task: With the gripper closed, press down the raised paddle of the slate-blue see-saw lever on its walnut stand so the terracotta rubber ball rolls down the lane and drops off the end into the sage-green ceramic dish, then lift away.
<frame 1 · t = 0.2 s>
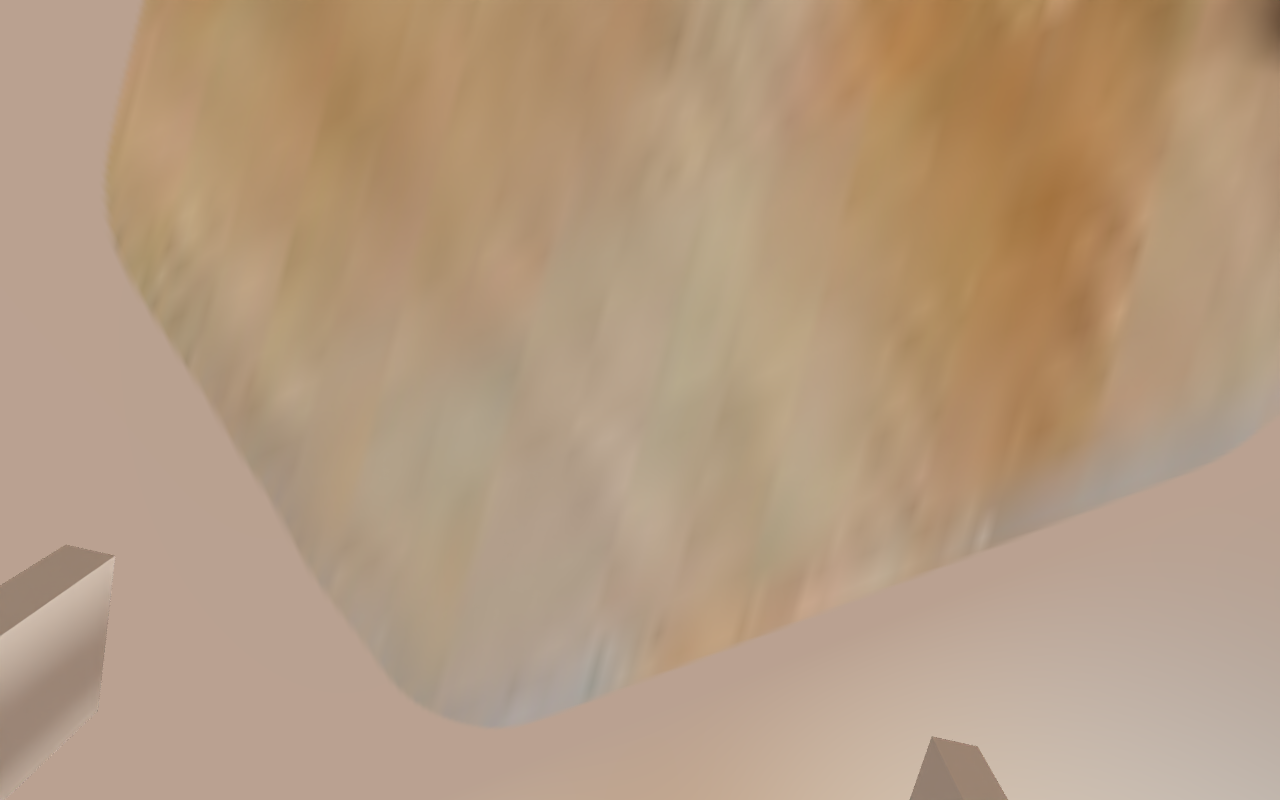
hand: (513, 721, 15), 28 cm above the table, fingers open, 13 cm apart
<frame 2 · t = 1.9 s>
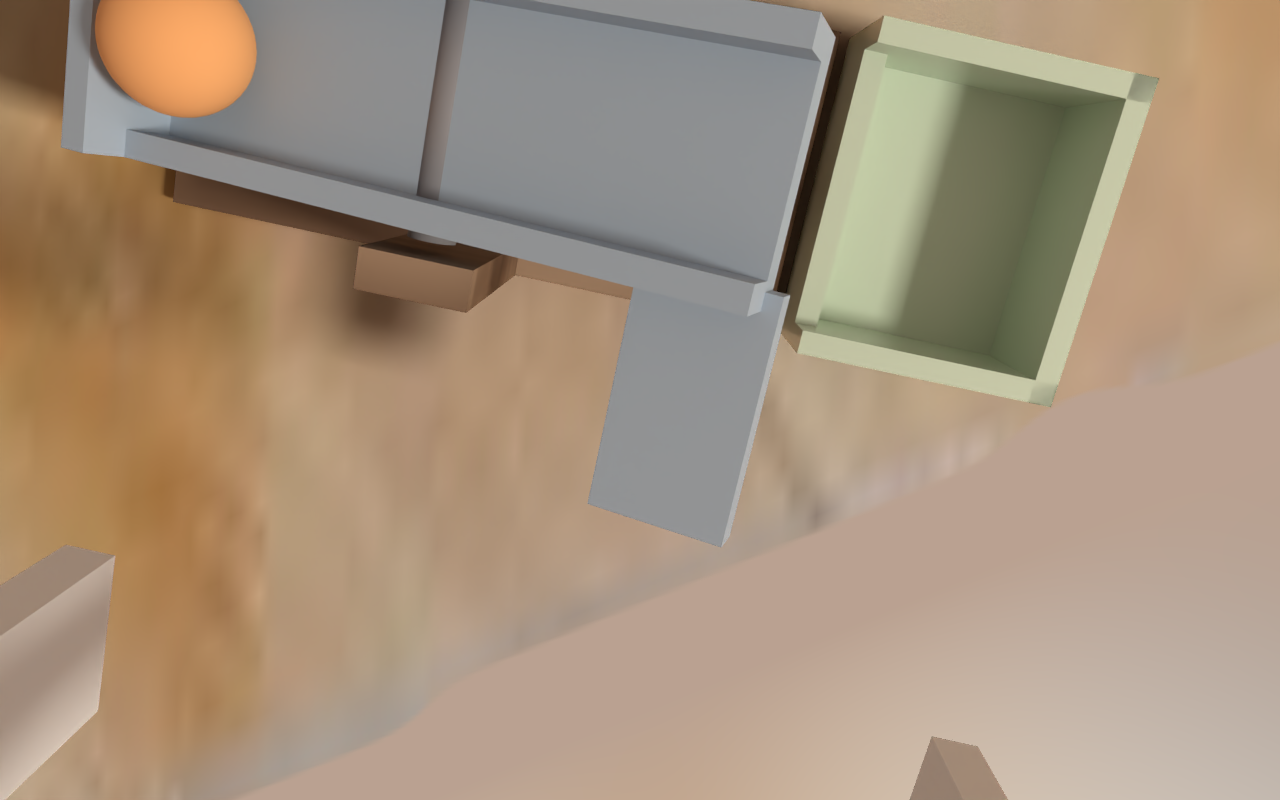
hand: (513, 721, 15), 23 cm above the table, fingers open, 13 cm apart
stand: (502, 120, 35), on the table
ball: (178, 42, 26), point 9 cm above the table, tilted 11°, touching lever
dish: (925, 213, 36), on the table
lever: (416, 211, 26), point 10 cm above the table, hinge at 18.1°, touching ball
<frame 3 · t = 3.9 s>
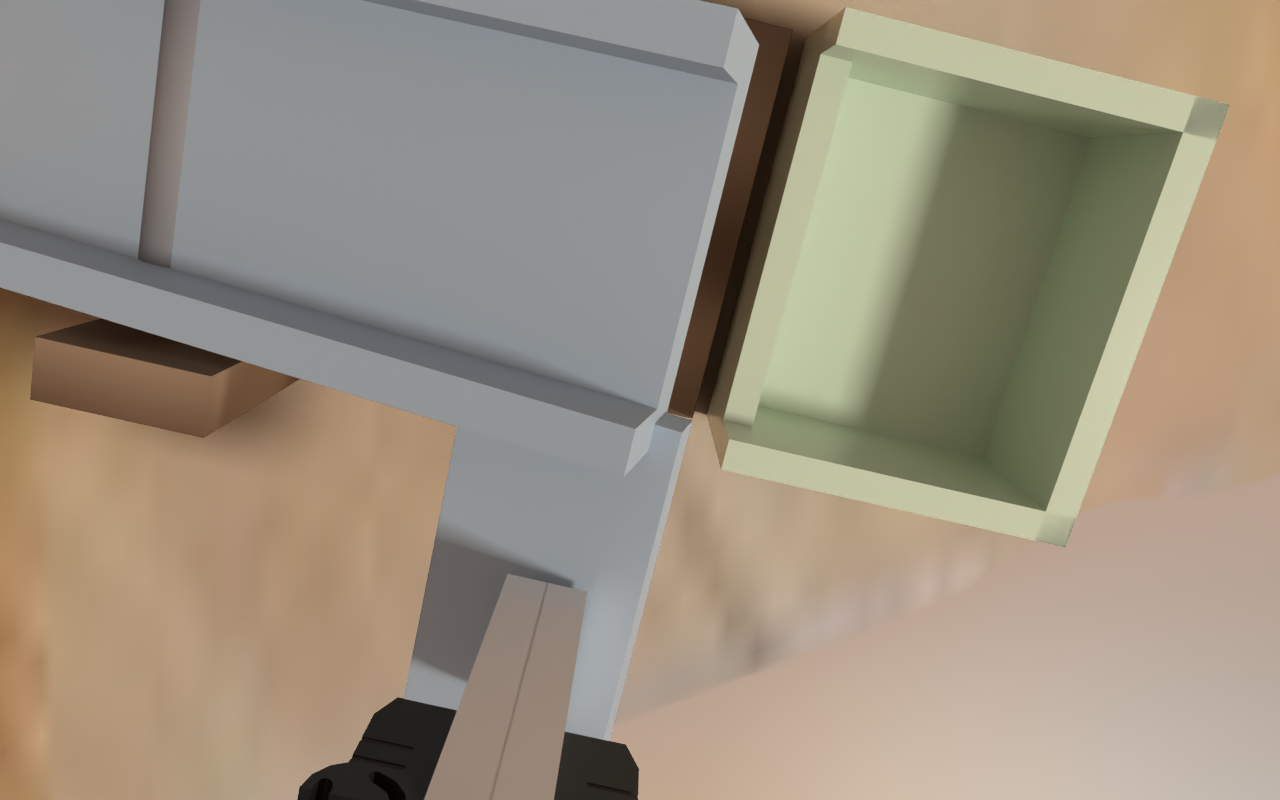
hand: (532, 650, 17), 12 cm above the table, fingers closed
stand: (342, 137, 26), on the table
dish: (903, 272, 27), on the table
lever: (129, 288, 17), point 10 cm above the table, hinge at 13.2°, touching ball, gripper
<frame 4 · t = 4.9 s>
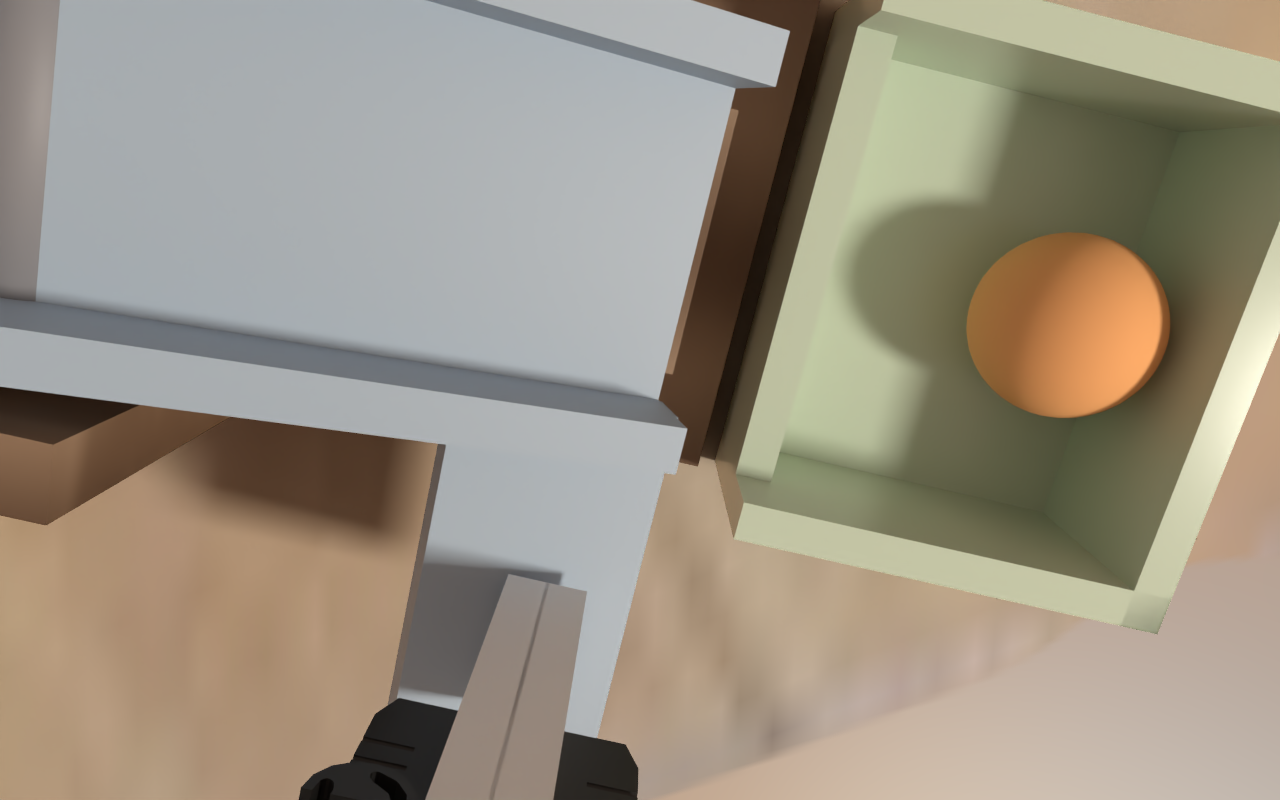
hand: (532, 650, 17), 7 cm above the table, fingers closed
stand: (278, 130, 22), on the table
ball: (1064, 325, 20), point 3 cm above the table, tilted 95°, touching dish
dish: (949, 292, 23), on the table
lever: (4, 337, 13), point 10 cm above the table, hinge at -16.8°, touching gripper
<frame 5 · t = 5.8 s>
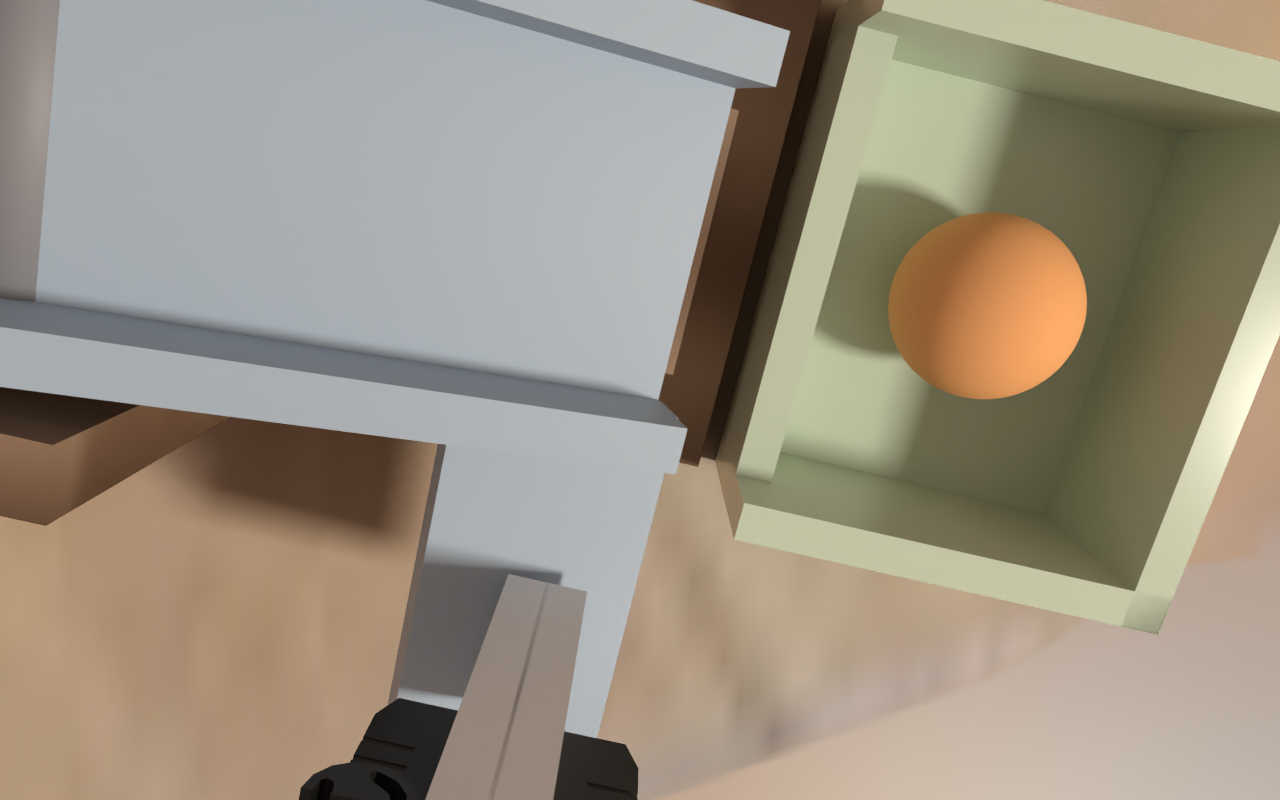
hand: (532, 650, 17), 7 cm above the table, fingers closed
stand: (278, 130, 22), on the table
ball: (984, 306, 20), point 3 cm above the table, tilted 43°, touching dish
dish: (950, 292, 23), on the table
lever: (4, 337, 13), point 10 cm above the table, hinge at -16.9°, touching gripper
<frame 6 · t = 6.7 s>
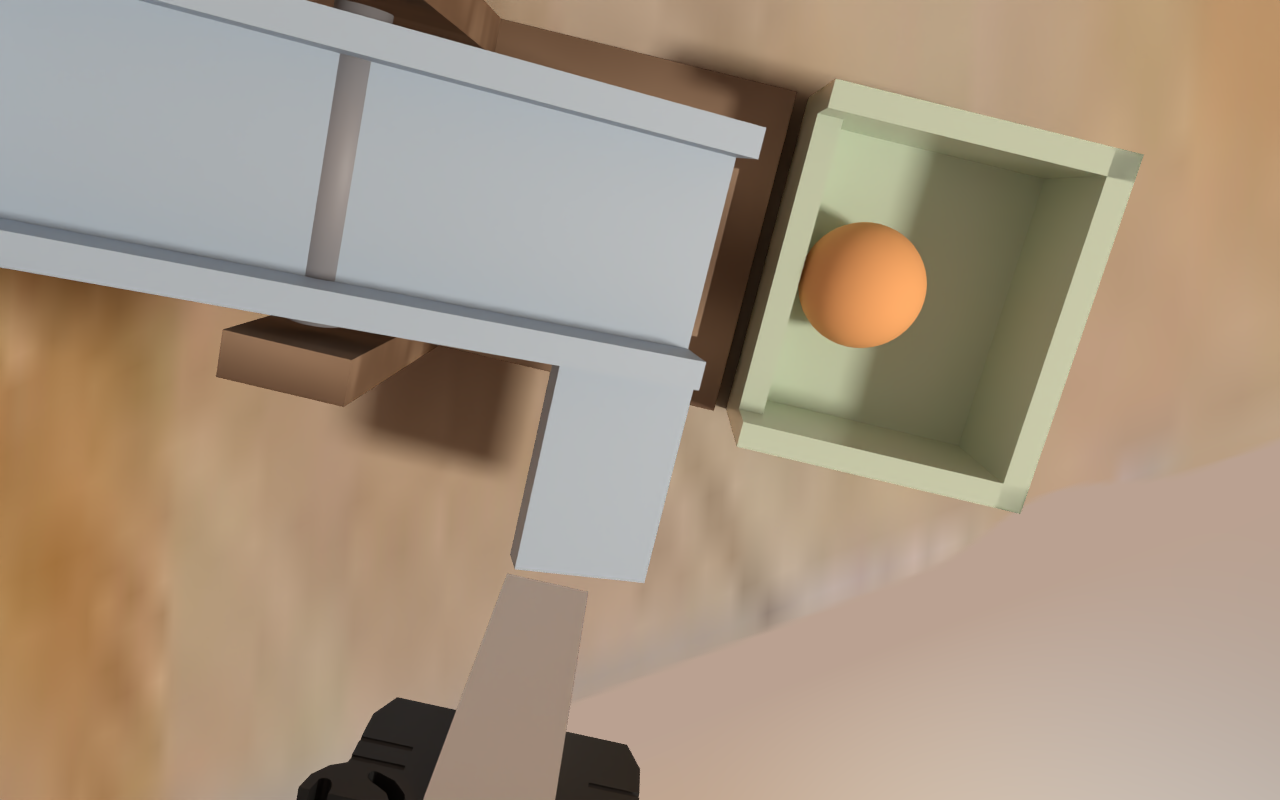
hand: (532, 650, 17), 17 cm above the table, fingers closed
stand: (428, 177, 32), on the table
ball: (861, 285, 30), point 3 cm above the table, touching dish
dish: (890, 289, 32), on the table
lever: (326, 300, 23), point 10 cm above the table, hinge at -17.0°
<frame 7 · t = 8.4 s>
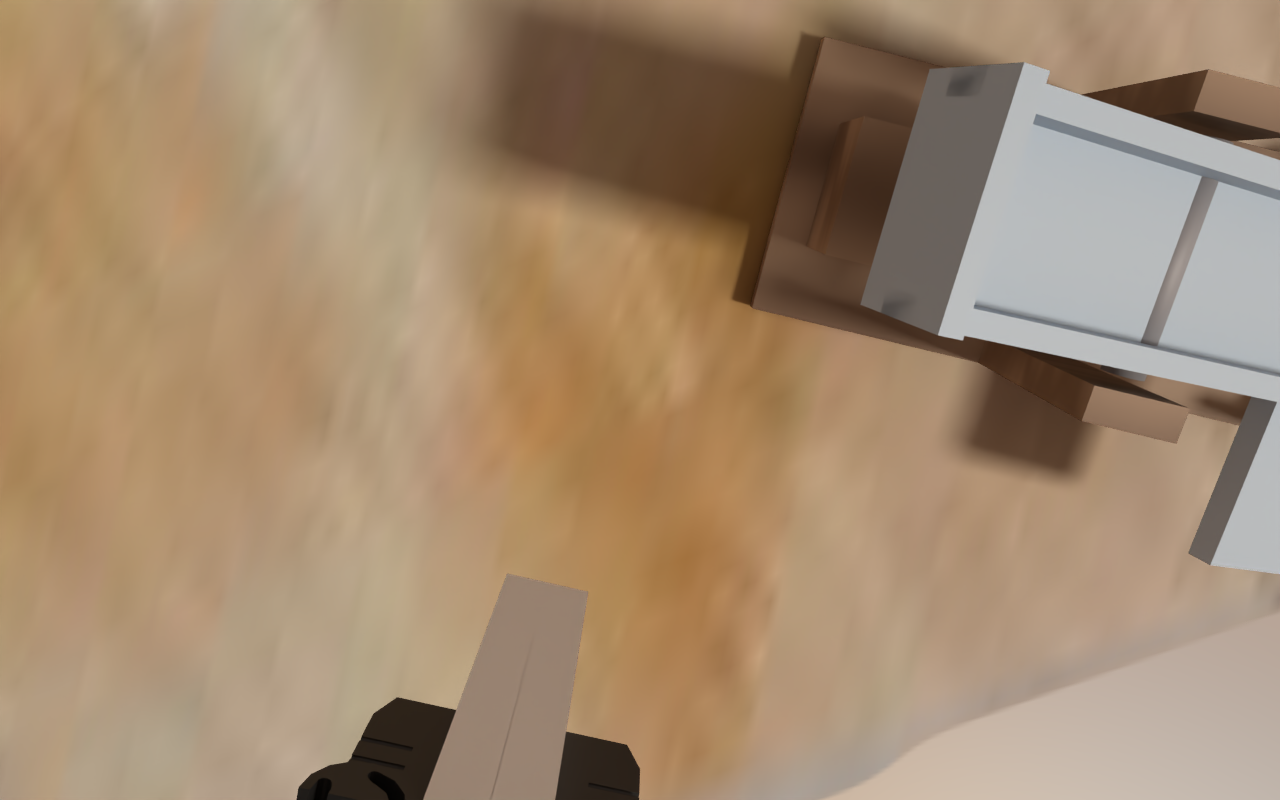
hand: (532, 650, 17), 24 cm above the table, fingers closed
stand: (1049, 242, 39), on the table
lever: (1171, 362, 30), point 10 cm above the table, hinge at -17.0°
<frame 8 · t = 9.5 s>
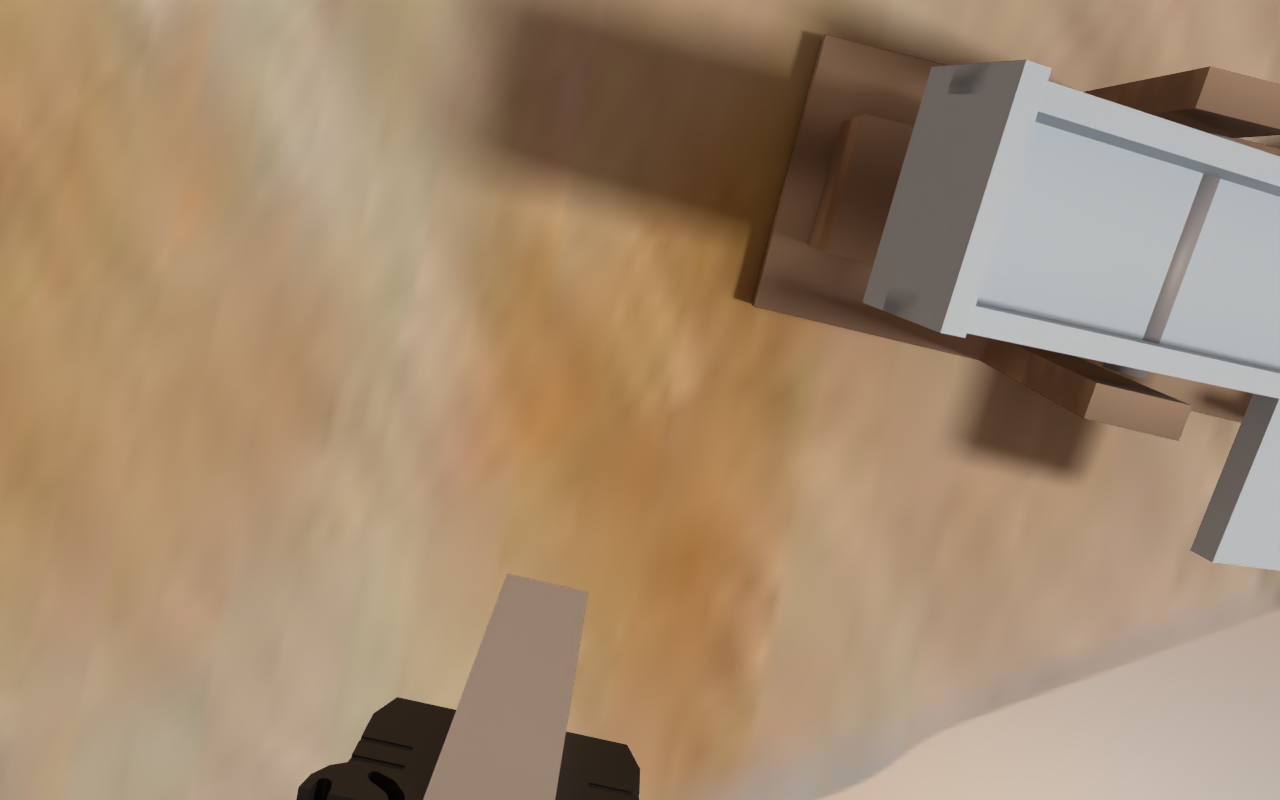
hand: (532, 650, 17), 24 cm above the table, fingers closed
stand: (1051, 240, 39), on the table
lever: (1173, 359, 30), point 10 cm above the table, hinge at -17.0°
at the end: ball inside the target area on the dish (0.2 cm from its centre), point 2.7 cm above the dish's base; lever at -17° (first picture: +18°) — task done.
